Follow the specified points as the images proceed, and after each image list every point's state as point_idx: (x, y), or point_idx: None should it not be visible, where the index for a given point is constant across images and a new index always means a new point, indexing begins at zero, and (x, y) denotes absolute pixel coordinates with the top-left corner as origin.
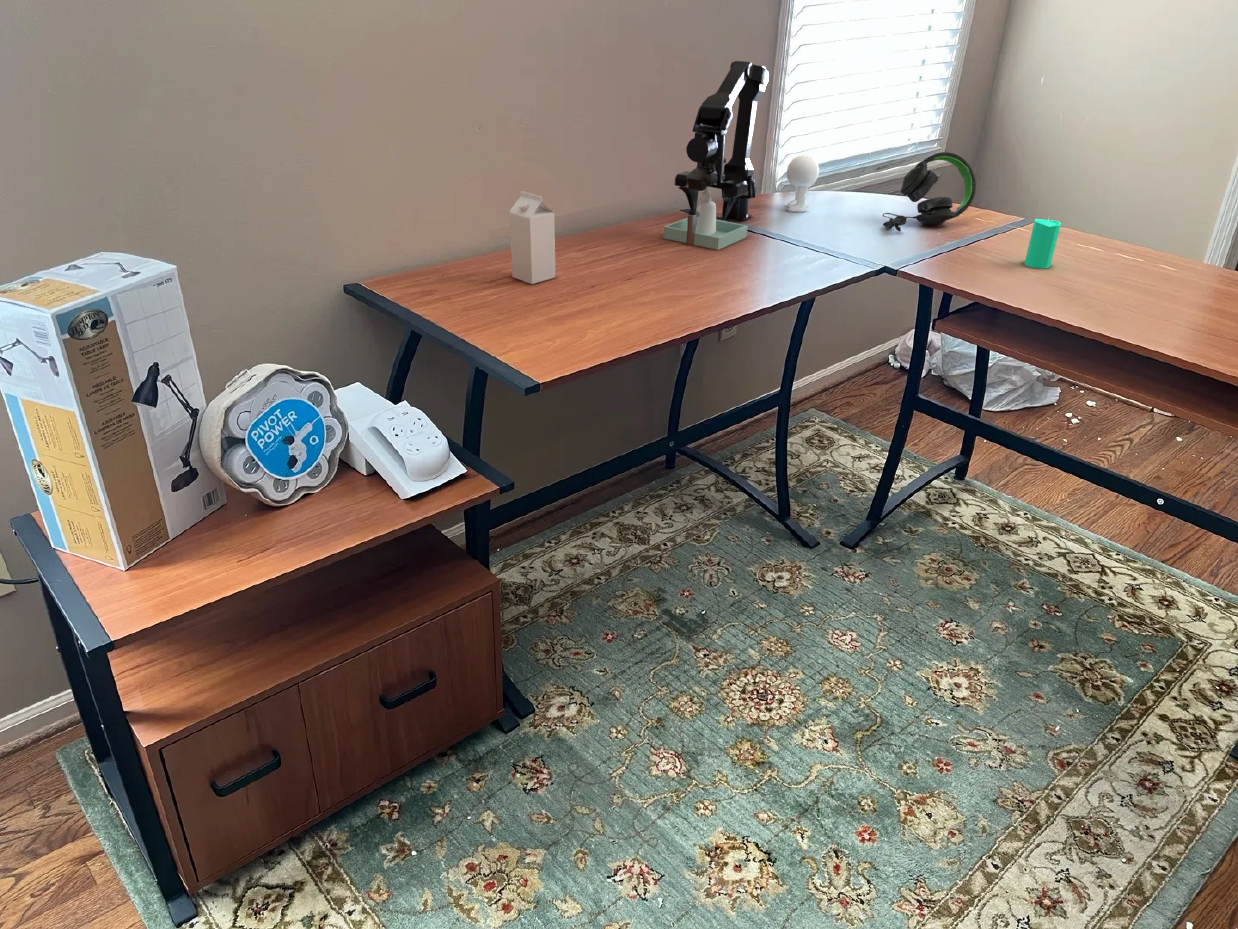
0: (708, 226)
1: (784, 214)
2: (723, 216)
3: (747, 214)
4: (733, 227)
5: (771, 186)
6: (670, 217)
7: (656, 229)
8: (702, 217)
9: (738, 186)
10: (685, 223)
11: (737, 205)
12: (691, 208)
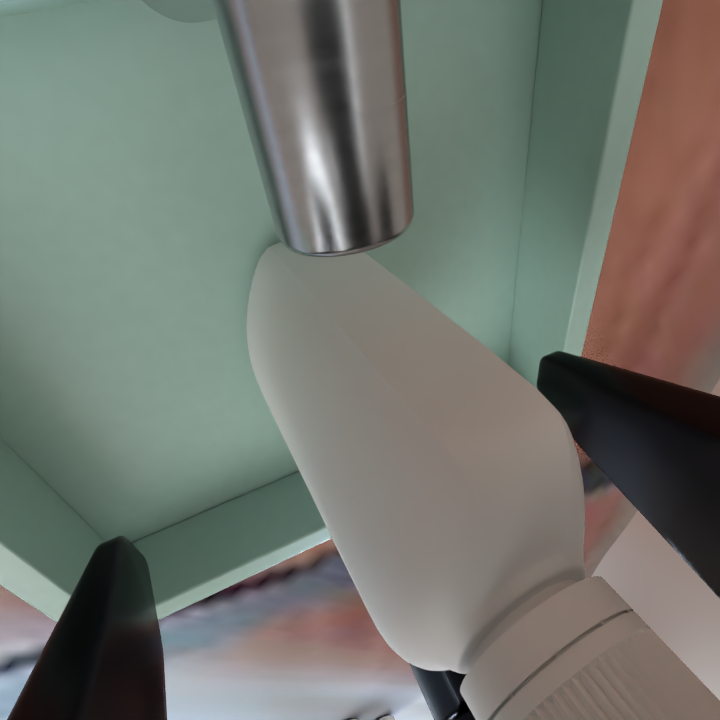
0: (270, 360)
1: (331, 710)
2: (82, 597)
3: None
4: (211, 547)
5: None
6: (665, 361)
7: (690, 110)
8: (348, 350)
9: None
10: (546, 296)
11: None
12: (617, 378)
